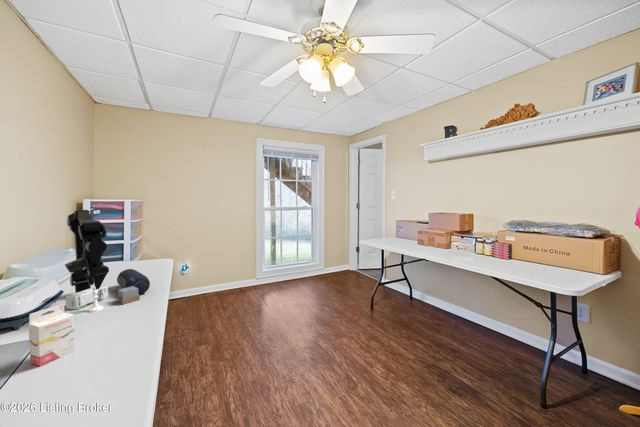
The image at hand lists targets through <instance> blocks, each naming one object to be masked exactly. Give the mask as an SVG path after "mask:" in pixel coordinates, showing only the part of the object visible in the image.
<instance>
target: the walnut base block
mask: <svg viewBox="0 0 640 427" xmlns="http://www.w3.org/2000/svg"><path fill="white" fill-rule="evenodd" d="M140 295H141V294H140ZM140 295H135V296H132V297H128V298H124V299H123V298H121V297H119V296H118V295H117V302H118V303H119V304H121V305H122V306H123V305H126V304H127V305H128V304H132V303H134V302H135V303H136V302H138V301H140V300H141V298H140Z"/></svg>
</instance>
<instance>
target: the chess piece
mask: <svg viewBox="0 0 640 427" xmlns="http://www.w3.org/2000/svg"><path fill="white" fill-rule="evenodd" d="M92 288H93V287H92ZM92 290H94V291H93V292H92V294H93V297H92V298H94V303H93V305H92V307H90V308H88V312H89V313H96V312H99V311H102V310H103V309H104V306H103V305H100V304H99V301H97V297H99V296H97V293H98V291H96V290H97V289H96V288H95V286H94V288H93V289H92Z"/></svg>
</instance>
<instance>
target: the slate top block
mask: <svg viewBox="0 0 640 427" xmlns="http://www.w3.org/2000/svg"><path fill="white" fill-rule="evenodd" d="M117 294H118V295H117V297H118V296H119V297H121V298H123V299H124V298H128V297H132V296H135V295H139V293H138V288H136V287H134V286H131V287H127V288H119V289H117Z"/></svg>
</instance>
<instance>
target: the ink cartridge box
mask: <svg viewBox="0 0 640 427" xmlns="http://www.w3.org/2000/svg"><path fill="white" fill-rule="evenodd" d="M65 307H66V304H63V303H62V304H59V305H55V306H52V307H48V308H44V309H42V310H38V311H35V312H31V313H29V315H28V316H29V317H28V321H29V323H28V338H29V340H28V341H29V356H30V357H29V359H30V364H33V365H36V366H38V367H42V366H43V365H47V364H48V363H51V362H53V361H56V360H57V359H60V358H62V357H64V356H66V355H69V354H71V353H74V352H75V351H76V332H75V315H74V314H71V313H66V312H65ZM47 312H50V313H48V314H46V313H47Z"/></svg>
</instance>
